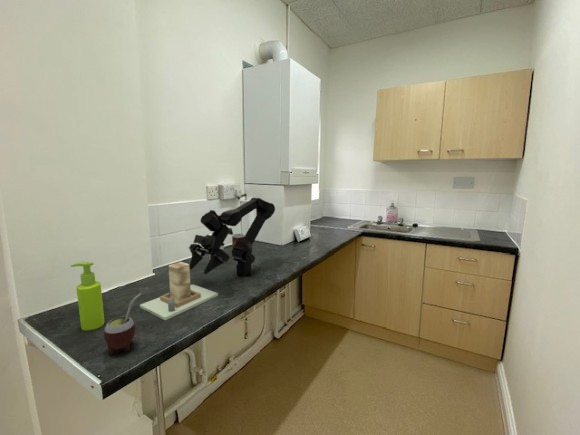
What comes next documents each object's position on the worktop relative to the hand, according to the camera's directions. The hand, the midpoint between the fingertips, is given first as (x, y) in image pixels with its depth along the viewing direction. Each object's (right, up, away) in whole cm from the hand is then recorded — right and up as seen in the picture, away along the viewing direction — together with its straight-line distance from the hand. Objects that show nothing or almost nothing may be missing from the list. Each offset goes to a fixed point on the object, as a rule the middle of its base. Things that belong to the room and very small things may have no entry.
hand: (197, 271), depth 106 cm
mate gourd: (-9, -15, -32) cm, 36 cm away
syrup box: (-4, -3, +43) cm, 44 cm away
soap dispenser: (-25, -13, -21) cm, 36 cm away
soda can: (+7, -1, +52) cm, 52 cm away
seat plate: (-4, -10, -5) cm, 12 cm away
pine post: (-4, -9, -5) cm, 11 cm away
